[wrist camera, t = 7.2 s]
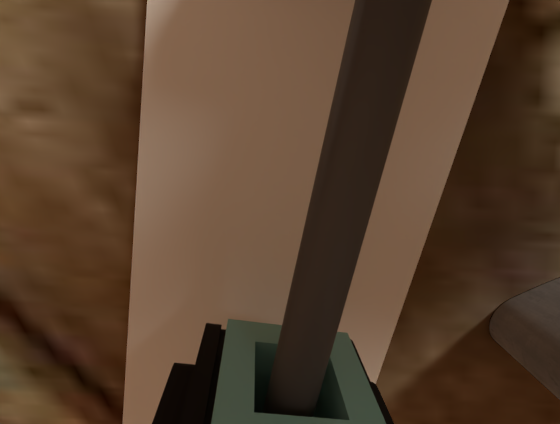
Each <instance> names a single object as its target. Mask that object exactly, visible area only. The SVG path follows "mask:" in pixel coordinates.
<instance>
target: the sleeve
mask: <svg viewBox="0 0 560 424" xmlns="http://www.w3.org/2000/svg"><path fill="white" fill-rule="evenodd" d="M281 328H282V325H277V324H268V323H260V322H251V321H243V320H234V319H228V322H227V328H226V334H225V340H224V346H223V352H222V358H221V365H220V371H219V377H218V383H217V390H216V396H215V402H214V408H213V415H212V421H211V424H386V422H385V420H384V417H383V415H382V413H381V410H380V408H379V406H378V403H377V401H376V399H375V396H374V394H373V392H372V389H371V387H370V384H369V382H368V380H367V377H366V375H365V373H364V370H363V368H362V366H361V363H360V361H359V359H358V356H357V354H356V352H355V349H354V347H353V345H352V342H351V340H350V338H349V335H348V333H345V332H337V334H336V337H335V341H334V344H333V348H332V351H331V355H330V358H329V362H328V365H327V369H326V372H325V376H324V379H323V383H322V386H321V390H320V393H319V397H318V400H317V404H316V407H315V411H314V414H313V417H305V416H292V415H280V414H267V413H262V412H263V408H264V403H265V399H266V394H267V390H268V385H269V381H270V376H271V372H272V368H273V363H274V359H275V354H276V350H277V345H278V341H279V336H280V332H281Z"/></svg>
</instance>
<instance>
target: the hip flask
mask: <svg viewBox="0 0 560 424" xmlns="http://www.w3.org/2000/svg"><path fill="white" fill-rule="evenodd" d="M489 330H490V334H491V336H492V338H493V339H494V340H495V341H496V342H497V343H498V344H499V345H500V346H501V347H502V348H503V349H505V350H506V351H507V352H508V353H509V354H510V355H511V356H512V357H513V358H514V359H515V360H517V361H518V362H519V363H520V364H521V365H522V366H523V367H524V368H525V369H526V370H528V371H529V372H530V373H531V374H532V375H533V376H534V377H535V378H536V379H537V380H538V381H540V382H541V383H542V384H543V385H544V386H545V387H546V388H547V389H548V390H549V391H550V392H552V393H553V394H554V395H555V396H556V397H557V398H558V399H559V400H560V278H557V279H555V280H552V281H550V282H547V283H545V284H543V285H540V286H538V287H536V288H533V289H531V290H529V291H527V292H524V293H522V294H520V295H518V296H516V297H514V298H511V299H509V300H508V301H506V302H504V303H503V304H502V305H501V306H500V307H499V308H498V309H497V310H496V311H495V312H494V314H493V316H492V318H491V320H490V325H489Z"/></svg>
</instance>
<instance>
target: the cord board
mask: <svg viewBox="0 0 560 424" xmlns="http://www.w3.org/2000/svg"><path fill="white" fill-rule="evenodd" d="M508 3H509V0H147V13H146V30H145V47H144V64H143V81H142V98H141V115H140V132H139V149H138V166H137V184H136V201H135V218H134V235H133V252H132V269H131V286H130V303H129V320H128V337H127V355H126V372H125V389H124V406H123V423H122V424H152V422H153V419H154V416H155V414H156V411H157V408H158V405H159V402H160V400H161V397H162V394H163V391H164V388H165V386H166V383H167V380H168V377H169V374H170V372H171V369H172V366H173V364H174V363H184V364H194V365H195V363H196V359H197V355H198V351H199V348H200V344H201V340H202V336H203V333H204V329H205V325H206V323H212V324H221V325H222V327H221V329H225V330H226V328H227V322H228V319H234V320H243V321H251V322H260V323H268V324H277V325H282V328H281V332H280V336H279V341H278V345H277V350H276V354H275V359H274V363H273V368H272V372H271V376H270V381H269V385H268V390H267V394H266V399H265V403H264V408H263V412H262V413H267V414H280V415H292V416H305V417H313V414H314V411H315V407H316V404H317V400H318V397H319V393H320V390H321V386H322V383H323V379H324V376H325V372H326V369H327V365H328V362H329V358H330V355H331V351H332V348H333V344H334V341H335V337H336V334H337V332H345V333H348V335H349V338H350V339H351V340H352V341H353V342H354V345H355V347H356V349H357V352H358V354H359V356H360V358H361V361H362V363H363V365H364V368H365V370H366V372H367V375H368V377H369V379H370V382H374V383H375V384H376V382H377V379H378V376H379V373H380V370H381V367H382V364H383V361H384V359H385V356H386V353H387V350H388V347H389V344H390V341H391V338H392V336H393V333H394V330H395V327H396V324H397V321H398V318H399V316H400V313H401V310H402V307H403V304H404V301H405V298H406V295H407V293H408V290H409V287H410V284H411V281H412V278H413V275H414V272H415V270H416V267H417V264H418V261H419V258H420V255H421V252H422V249H423V247H424V244H425V241H426V238H427V235H428V232H429V229H430V227H431V224H432V221H433V218H434V215H435V212H436V209H437V206H438V204H439V201H440V198H441V195H442V192H443V189H444V186H445V183H446V181H447V178H448V175H449V172H450V169H451V166H452V163H453V160H454V158H455V155H456V152H457V149H458V146H459V143H460V140H461V138H462V135H463V132H464V129H465V126H466V123H467V120H468V117H469V115H470V112H471V109H472V106H473V103H474V100H475V97H476V94H477V92H478V89H479V86H480V83H481V80H482V77H483V74H484V71H485V69H486V66H487V63H488V60H489V57H490V54H491V51H492V48H493V46H494V43H495V40H496V37H497V34H498V31H499V28H500V26H501V23H502V20H503V17H504V14H505V11H506V8H507V5H508Z"/></svg>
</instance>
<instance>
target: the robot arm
mask: <svg viewBox="0 0 560 424" xmlns="http://www.w3.org/2000/svg"><path fill="white" fill-rule="evenodd" d="M221 327H222V325H221V324H212V323H206V325H205V329H204V333H203V336H202V340H201V344H200V348H199V351H198V355H197V359H196V363H195V365H194V364H184V363H174V364H173V366H172V369H171V372H170V374H169V377H168V380H167V383H166V386H165V388H164V391H163V394H162V397H161V400H160V402H159V405H158V408H157V411H156V414H155V416H154V419H153V422H152V424H211V421H212V415H213V408H214V402H215V396H216V390H217V383H218V377H219V371H220V365H221V358H222V352H223V346H224V340H225V334H226V330H225V329H221ZM350 340H351V339H350ZM351 342H352V345H353V347H354V349H355V352H356V354H357V356H358V359H359V361H360V363H361V366H362V368H363V370H364V373H365V375H366V377H367V380H368V382H369V384H370V387H371V389H372V392H373V394H374V396H375V399H376V401H377V403H378V406H379V408H380V410H381V413H382V415H383V417H384V420H385V422H386V424H394V423H393V421H392V418H391V416H390V414H389V412H388V409H387V407H386V405H385V403H384V401H383V398H382V396H381V394H380V392H379V390H378V388H377V386H376V384H375V383H374V382H370V379H369V377H368V375H367V372H366V370H365V368H364V365H363V363H362V361H361V358H360V356H359V354H358V352H357V349H356V347H355V345H354V342H353V341H352V340H351Z"/></svg>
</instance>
